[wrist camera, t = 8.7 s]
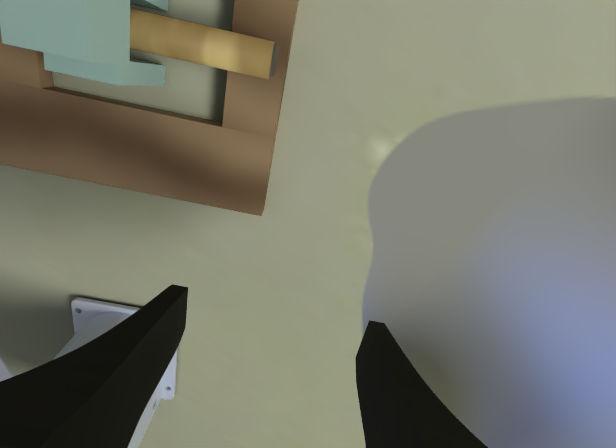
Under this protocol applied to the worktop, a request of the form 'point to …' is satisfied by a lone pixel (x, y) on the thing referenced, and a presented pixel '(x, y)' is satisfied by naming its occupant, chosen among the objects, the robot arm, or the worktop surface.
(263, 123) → the board with dowel handle
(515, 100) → the worktop surface
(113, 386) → the robot arm
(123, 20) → the stepped grey-green block
